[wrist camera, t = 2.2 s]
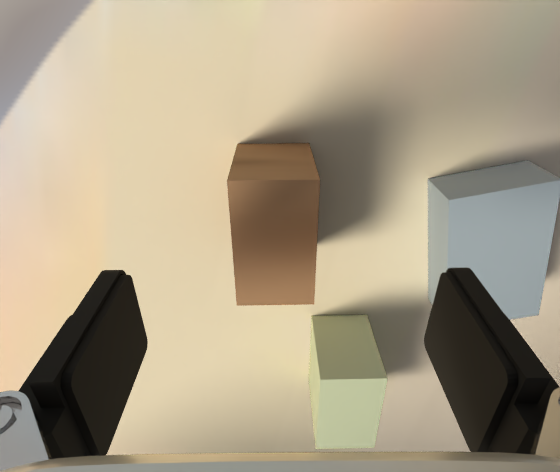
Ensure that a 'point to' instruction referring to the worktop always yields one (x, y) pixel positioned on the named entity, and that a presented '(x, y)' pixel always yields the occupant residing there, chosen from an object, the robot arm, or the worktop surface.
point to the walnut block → (274, 223)
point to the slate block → (495, 231)
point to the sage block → (345, 382)
